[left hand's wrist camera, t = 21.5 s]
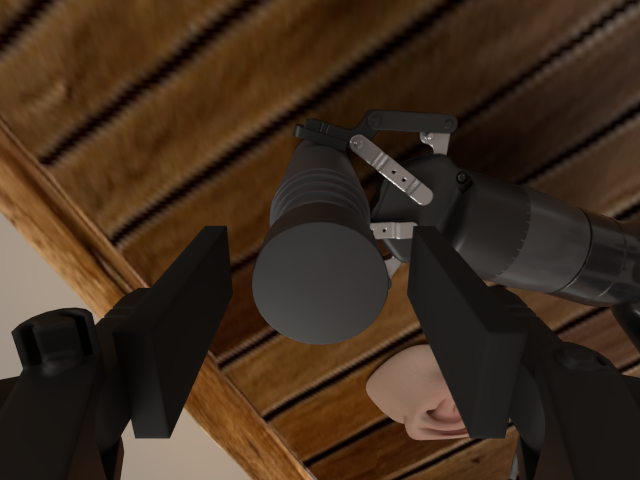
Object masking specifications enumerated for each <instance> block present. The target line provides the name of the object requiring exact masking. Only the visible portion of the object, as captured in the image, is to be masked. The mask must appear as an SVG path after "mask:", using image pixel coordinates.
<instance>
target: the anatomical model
mask: <svg viewBox="0 0 640 480" xmlns="http://www.w3.org/2000/svg"><path fill="white" fill-rule="evenodd" d="M366 390H367V393H368V395H369V396H370V398H371V399H372V400H373V402H374V403H375V404H376V405H377V406H378V407H379V408H380V409H381V410H382V411H383V412H384V413H385V414H386V415H388V416H389V417H390V418H392V419H393V420H395V421H397V422H399V423H405V427H406V430H407V433H408V434H409V436H410V437H411V438H413V439H416V440H433V439H451V438H462V437H467V436H469V434H468V432H467V430H466V428H465V425H464V423H463V421H462V418H461V416H460V414H459V412H458V409H457V407H456V405H455V402H454V400H453V398H452V396H451V393H450V391H449V389H448V386H447V384H446V382H445V380H444V377H443V375H442V373H441V370H440V368H439V366H438V364H437V361H436V359H435V357H434V354H433V352H432V350H431V348H430V345H417V346H413V347H409V348H407V349H405V350H403V351H401V352H399V353H397V354H396V355H394V356H393V357H391V358H390V359H389V360H387V361H386V362H385V363H384V364H383V365H381V366H380V367H379V368H378V369H377V370H376V371H375V372H374V373H373V374H372V375H371V377H370V378H369V379H368V381H367V384H366Z"/></svg>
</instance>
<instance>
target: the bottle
mask: <svg viewBox="0 0 640 480" xmlns="http://www.w3.org/2000/svg"><path fill="white" fill-rule="evenodd" d="M319 202H323V203H332V204H336V205H340V206H342V207H345V208H347V209H349V210H351V211H353V212H354V213H356V214H357V215H359V216H360V217H361V218H362V219H363V220H364V221H365V222H366V223H367V225H368V226H369V227H370V223H371V222H370V207H369V203H368V200H367V197H366V195H365V193H364V191H363V189H362V186H361V184H360V182H359V180H358V178H357V175H356V173H355V171H354V169H353V167H352V164H351V162H350V160H349V158H348V155H347V153H346V151H345V152H344V151H340V150H337V149H334V148H331V147H328V146H324V145H321V144H318V143H315V142H311V141H308V140H303V141H302V142H301V143H300V144H299V145H298V146H297V148H296V150H295V152H294V154H293V156H292V158H291V161H290V163H289V165H288V167H287V169H286V172H285V174H284V176H283V178H282V180H281V183H280V185H279V187H278V189H277V192H276V194H275V196H274V198H273V201H272V204H271V209H270V228H271V226H272V225H273V224H274V222H275V221H276V220H277V219H278V218H279V217H281V216H282V215H283V214H284V213H286V212H288V211H289V210H291V209H293V208H295V207H298V206H301V205H304V204H309V203H319Z"/></svg>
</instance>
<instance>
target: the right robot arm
mask: <svg viewBox="0 0 640 480" xmlns="http://www.w3.org/2000/svg"><path fill="white" fill-rule="evenodd" d="M457 125H458V121H457V119H456V117H454V116H453V115H447V114H441V113H426V112H409V111H393V110H377V109H371V110H368V111H367V112H366V113H365V115H364V117H363V118H362V120H361V121H360V122H359V124H358V125H357V126H356V127H354V128H351V129H347V128H343V127H340V126H337V125H334V124H331V123H327V122H324V121H321V120H318V119H315V118H312V119H306V122H305V126H304V125H301V124H296V125H295V128H294V132H293V135H294V136H296V137H299V138H302V139H305V140H308V141H311V142H315V143H318V144H321V145H324V146H328V147H331V148H334V149H337V150H340V151H344V152H345V150H346V149H348V150H352V151H353V152H355V153H356V154H357V155H359V156H360V157H361V158H362V159H364V160H365V161H366V162H367V163H369V164H370V165H371V166H372V167H374V168H375V169H376V170H377V171H378V172H379V173H380V175H379V178H378V180H377V186H376V194H375V195H374V197H373V198H372V199H371V201H370V203H369V207H370V222H371V223H370V229H371V230H372V232H373V234H374V236H375V238H376V239H380V240H381V242H382V243H383V244H384V246H385V247H386V248H387V250H388V251H389V252H390V253H389V254H388V255H386V256H383V259H384V261H385V264H386V267H387V271H388V278H389V289H390V287H391V285H392V283H391V280H390V279H391V277H392V276H393V274H394V273H395V271H396V270H397V269H398V267H399V266H400V265H401V263H402V262H403V263H407V262H410V257H411V245H412V234H413V226H435V227H436V228H437V229H438V230H439V231H440V233H441V234H442V235H443V236H444V237H445V238H446V239H447V241H448V242H449V243H450V244H451V245H452V246H453V247H454V249H455V250H456V251H457V252H458V253H459V254H460V255H461V257H462V258H463V259H464V260H465V261H466V262H467V263H468V264H469V266H470V267H471V268H472V269H473V270H474V271H475V272H476V274H477V275H478V276H479V277H480V278H481V279H483V280H487V281H490V282H494V283H498V284H501V285H504V286H508V287H512V288H517V289H523V290H531V291H537V292H541V293H544V294H548V295H551V296H555V297H558V298H562V299H565V300H569V301H572V302H576V303H580V304H584V305H588V306H596V307H608V306H610V308H611V311H612V313H613V315H614V317H615V319H616V320H617V322H618V324H619V325H620V326H621V328H622V329H623V331H624V332H625V333H626V335H627V336H628V338H629V339H630V340H631V342H632V343H633V345H634V346H635V347H636V349H637V350H638V352H639V353H640V221H619V220H615V219H613V218H610V217H607V216H604V215H601V214H597V213H594V212H591V211H588V210H585V209H582V208H578V207H575V206H572V205H570V204H567V203H565V202H563V201H561V200H559V199H557V198H555V197H553V196H551V195H548V194H545V193H542V192H539V191H536V190H534V189H532V188H530V187H528V186H524V185H517V184H514V183H511V182H507V181H504V180H501V179H498V178H495V177H492V176H488V175H485V174H482V173H479V172H476V171H473V170H470V169H466V168H463V167H460V166H458V165H456V164H455V163H454V162H453V161H452V160H451V158H450V157H448V156H447V149H448V143H449V137H450V133H452V132H454V131H455V130H456V128H457ZM379 130H391V131H407V132H417V138H418V140H419V141H421V142H423V143H425V144H428V145H429V147H430V152H429V153H426V154H423V155H420V156H417V157H414V158H411V159H408V160H405V161H403V162H400V163H397V162H396V161H395V160H394V159H392V158H391V157H390V156H389V155H387V154H386V153H385V152H384V151H382V150H381V149H380V148H379V147H377V146H376V145H375V144H374V143H372V142H371V140H372V138H373V137H374V136H375V134H376V133H377V132H378V131H379ZM389 289H388V290H389Z"/></svg>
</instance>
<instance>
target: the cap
mask: <svg viewBox="0 0 640 480" xmlns="http://www.w3.org/2000/svg"><path fill="white" fill-rule="evenodd" d="M388 289H389V278H388V271H387V267H386V264H385V261H384V259H383V256H382V254H381V251H380V248H379V246H378V243H377V241H376V238H375V236H374V234H373V232H372V230H371V229H370V227H369V226H368V225H367V223H366V222H365V221H364V220H363V219H362V218H361V217H360V216H359V215H357V214H356V213H354V212H353V211H351V210H349V209H347V208H345V207H342V206H340V205H336V204H332V203H323V202H319V203H309V204H304V205H301V206H298V207H295V208H293V209H291V210H289V211H288V212H286V213H284V214H283V215H282V216H281V217H279V218H278V219H277V220H276V221H275V222H274V224H273V225H272V226H271V228H270V229H269V230H268V232H267V234H266V236H265V239H264V241H263V244H262V247H261V249H260V252H259V254H258V257H257V259H256V262H255V265H254V268H253V273H252V293H253V297H254V301H255V303H256V306H257V308H258V310H259V311H260V313H261V315H262V316H263V317H264V319H265V320H266V321H267V322H268V323H269V324H270V325H271V326H272V327H273V328H274V329H275V330H277V331H278V332H279V333H281V334H283V335H285V336H286V337H289V338H291V339H293V340H296V341H299V342H303V343H308V344H318V345H319V344H332V343H337V342H341V341H344V340H347V339H350V338H352V337H354V336H356V335H358V334H359V333H361V332H362V331H364V330H365V329H366V328H367V327H368V326H370V325H371V324H372V323H373V321H374V320H375V319H376V318H377V317H378V315H379V314H380V312H381V310H382V308H383V306H384V304H385V301H386V298H387V294H388Z"/></svg>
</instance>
